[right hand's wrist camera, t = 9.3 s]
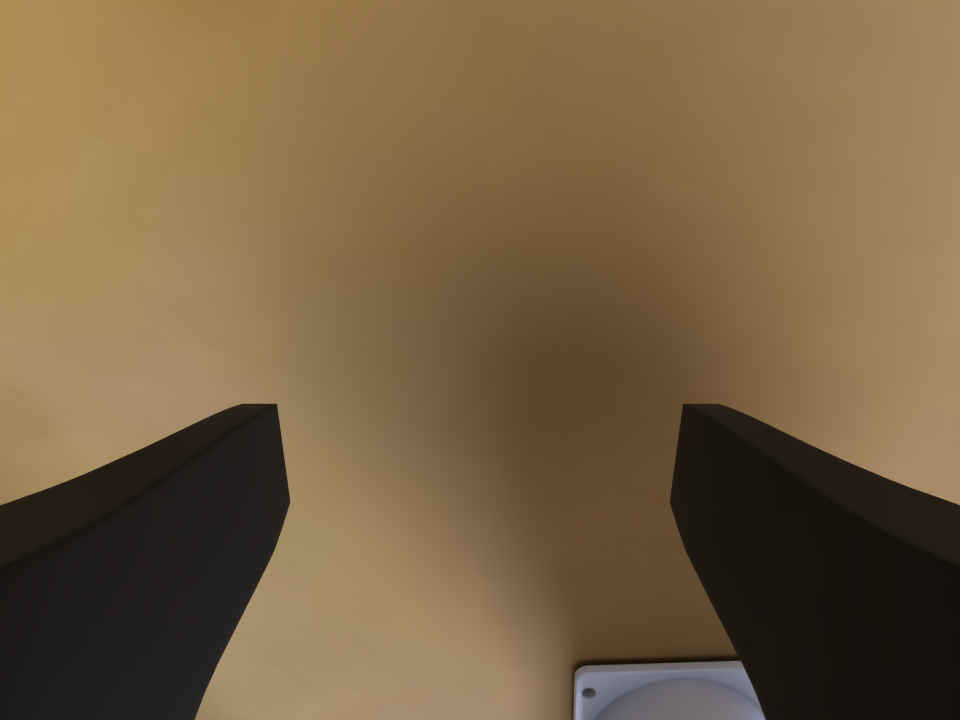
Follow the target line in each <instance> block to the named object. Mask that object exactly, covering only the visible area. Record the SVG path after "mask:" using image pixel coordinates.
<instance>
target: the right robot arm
mask: <svg viewBox="0 0 960 720" xmlns="http://www.w3.org/2000/svg"><path fill="white" fill-rule="evenodd" d="M289 504H290V497H289V489H288V482H287V475H286V467H285V460H284V453H283V445H282V438H281V431H280V423H279V416H278V409H277V404H240V405H237V406H234V407H231V408H228V409H226V410H223V411H221V412H219V413H216V414H214V415H212V416H210V417H208V418H205V419H203V420H201V421H199V422H197V423H195V424H193V425H191V426H189V427H186V428H184V429H182V430H180V431H178V432H176V433H174V434H172V435H170V436H168V437H166V438H164V439H161V440H159V441H157V442H155V443H153V444H151V445H149V446H147V447H145V448H142V449H140V450H138V451H136V452H133V453H131V454H129V455H127V456H124V457H122V458H120V459H118V460H115V461H113V462H111V463H109V464H106V465H104V466H102V467H100V468H97V469H95V470H93V471H91V472H88V473H86V474H84V475H81V476H79V477H76V478H74V479H71V480H69V481H66V482H64V483H61V484H59V485H56V486H53V487H51V488H48V489H45V490H43V491H40V492H37V493H34V494H31V495H29V496H26V497H23V498H20V499H17V500H15V501H12V502H9V503H6V504H3V505H0V720H194V719H195V717H196V714H197V712H198V709H199V706H200V704H201V701H202V698H203V696H204V693H205V691H206V689H207V686H208V684H209V682H210V680H211V678H212V675H213V673H214V671H215V669H216V666H217V664H218V662H219V660H220V658H221V656H222V654H223V652H224V650H225V648H226V646H227V644H228V642H229V640H230V638H231V636H232V634H233V632H234V631H235V629H236V627H237V625H238V623H239V621H240V619H241V617H242V615H243V613H244V611H245V609H246V607H247V605H248V603H249V601H250V599H251V597H252V595H253V593H254V591H255V589H256V587H257V585H258V583H259V581H260V579H261V577H262V575H263V573H264V571H265V569H266V567H267V565H268V563H269V561H270V558H271V556H272V554H273V552H274V550H275V547H276V544H277V541H278V539H279V536H280V533H281V530H282V527H283V524H284V520H285V517H286V514H287V511H288V508H289ZM670 504H671V508H672V511H673V514H674V517H675V520H676V524H677V527H678V530H679V533H680V536H681V539H682V541H683V544H684V547H685V550H686V552H687V554H688V556H689V558H690V561H691V563H692V565H693V567H694V569H695V571H696V573H697V575H698V577H699V579H700V581H701V583H702V585H703V587H704V589H705V591H706V593H707V595H708V597H709V599H710V601H711V603H712V605H713V607H714V609H715V611H716V613H717V615H718V617H719V619H720V621H721V623H722V625H723V627H724V629H725V631H726V632H727V634H728V636H729V638H730V640H731V642H732V644H733V646H734V648H735V650H736V652H737V654H738V656H739V658H740V660H741V661H718V662H685V663H653V664H621V665H589V666H583V667H581V668H579V669H578V670H577V671H576V672H575V675H574V716H573V720H960V505H958V504H955V503H952V502H949V501H946V500H944V499H941V498H938V497H935V496H932V495H929V494H927V493H924V492H921V491H918V490H915V489H912V488H910V487H907V486H905V485H902V484H899V483H897V482H894V481H892V480H889V479H887V478H884V477H882V476H879V475H877V474H875V473H872V472H870V471H868V470H865V469H863V468H861V467H858V466H856V465H854V464H851V463H849V462H846V461H844V460H842V459H840V458H838V457H835V456H833V455H831V454H829V453H827V452H824V451H822V450H820V449H818V448H816V447H814V446H812V445H809V444H807V443H805V442H803V441H801V440H799V439H797V438H795V437H793V436H791V435H788V434H786V433H784V432H782V431H780V430H778V429H776V428H774V427H772V426H770V425H768V424H766V423H763V422H761V421H759V420H757V419H755V418H753V417H751V416H748V415H746V414H744V413H742V412H739V411H737V410H735V409H732V408H729V407H727V406H723V405H720V404H683V409H682V416H681V423H680V431H679V438H678V445H677V453H676V460H675V467H674V475H673V482H672V489H671V497H670ZM587 688H590V689H587Z"/></svg>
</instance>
